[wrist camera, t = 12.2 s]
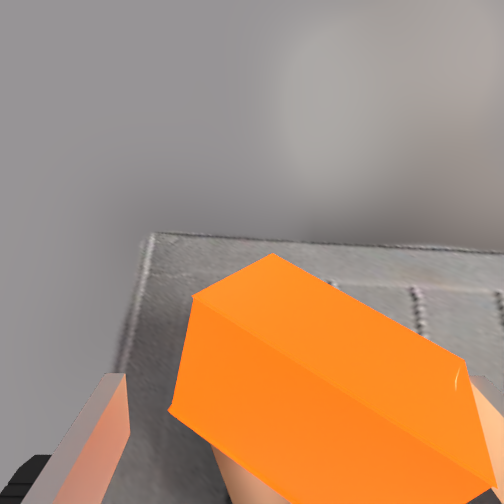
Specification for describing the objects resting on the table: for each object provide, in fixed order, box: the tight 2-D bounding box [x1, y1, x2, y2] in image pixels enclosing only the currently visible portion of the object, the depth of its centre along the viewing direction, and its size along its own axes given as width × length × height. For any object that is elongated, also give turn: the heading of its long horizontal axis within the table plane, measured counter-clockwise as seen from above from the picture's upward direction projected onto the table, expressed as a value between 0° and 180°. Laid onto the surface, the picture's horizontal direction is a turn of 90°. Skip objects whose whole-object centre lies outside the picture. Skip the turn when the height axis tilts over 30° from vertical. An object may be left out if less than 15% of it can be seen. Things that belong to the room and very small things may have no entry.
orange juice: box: [168, 253, 498, 504], centre depth 19 cm, size 8×9×20 cm
